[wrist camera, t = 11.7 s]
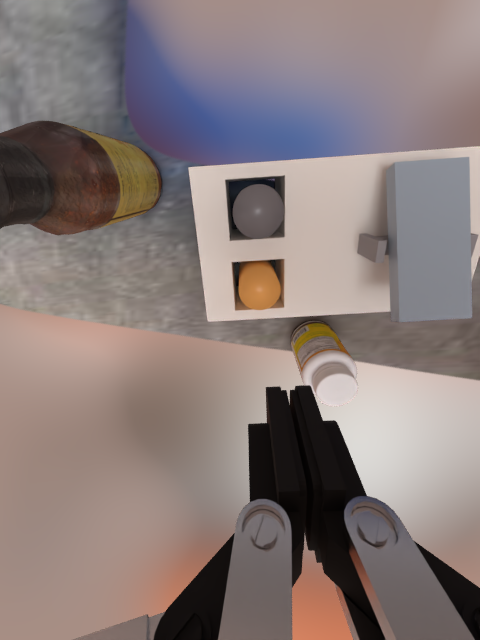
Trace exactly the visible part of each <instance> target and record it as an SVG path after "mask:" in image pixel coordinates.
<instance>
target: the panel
mask: <svg viewBox="0 0 480 640" xmlns="http://www.w3.org/2000/svg"><path fill="white" fill-rule="evenodd" d="M459 157H469V164H470V221H471V278H473V275H474V272H475V269H476V266H477V262H478V259H479V256H480V146H475V147H462V148H448V149H434V150H421V151H407V152H393V153H380V154H366V155H351V156H337V157H324V158H310V159H296V160H283V161H268V162H255V163H241V164H227V165H213V166H200V167H188V168H189V176H190V184H191V192H192V200H193V208H194V216H195V224H196V232H197V240H198V248H199V256H200V264H201V271H202V279H203V287H204V295H205V303H206V311H207V319H208V322H212V321H230V320H248V319H266V318H284V317H301V316H319V315H337V314H355V313H373V312H390V283H389V255H385V250H386V244H387V242H388V219H387V187H386V170H387V169H388V168H389V167H390V166H391V165H392V164H393V163H394V162H403V161H417V160H431V159H445V158H459ZM261 179H275V191H276V192H277V193H278V194H279V196H280V197H281V199H282V202H283V206H284V215H283V220H282V222H281V225H280V226H279V228H278V229H277V230H276V231H275V232H274V233H273V234H272V235H270V236H268V237H266V238H262V239H253V238H250V237H247V236H245V235H244V234H243V233H241V232H240V231H239V229H236V230H232V221H231V207H230V193H229V182H232V181H246V180H261ZM274 259H275V268H276V276H277V278H278V280H279V283H280V286H281V293H280V296H279V299H278V300H277V302H276V303H275V304H274V305H273V306H271V307H270V308H268V309H264V310H254V309H251V308H249V307H247V306H246V305H245V304H244V303H243V302H242V300H241V299H240V296H239V287H236V276H235V262H241V261H257V260H274Z"/></svg>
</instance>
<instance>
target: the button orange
mask: <svg viewBox="0 0 480 640" xmlns="http://www.w3.org/2000/svg"><path fill="white" fill-rule="evenodd" d="M280 293H281V286H280V283H279V280H278V278H277V276H276V273H275V271H274V268H273V266H272V263H271V261H270V260H257V261H241V262H240V265H239V296H240V299H241V300H242V302H243V303H244V304H245V305H246V306H247V307H249V308H251V309H254V310H264V309H268V308H270V307H271V306H273V305H274V304H275V303H276V302H277V300H278V299H279V296H280Z"/></svg>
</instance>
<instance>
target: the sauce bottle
mask: <svg viewBox="0 0 480 640" xmlns="http://www.w3.org/2000/svg"><path fill="white" fill-rule="evenodd" d="M161 184H162V183H161V177H160V174H159V172H158V169H157V167H156V165H155V163H154V162H153V160H152V159H151V157H149V156H148V155H147V154H146V153H145V152H143V151H141V150H140V149H139V148H137V147H136V146H134V145H131V144H129V143H126V142H123V141H119V140H116V139H113V138H109V137H106V136H103V135H100V134H97V133H92V132H91V131H86V130H83V129H79V128H77V127H73V126H69V125H65V124H62V123H58V122H52V121H35V122H31V123H28V124H25V125H22V126H19V127H16V128H14V129H11V130H8V131H5V132H2V133H0V229H1V228H2V227H4V226H10V225H14V224H31V225H33V226H35V227H37V228H38V229H40V230H43V231H45V232H49V233H51V234H55V235H61V234H68V235H69V234H75V233H79V232H82V231H86V230H93V229H98V228H101V227H104V226H107V225H110V224H113V223H116V222H120V221H123V220H126V219H129V218H132V217H135V216H138V215H141V214H144V213H146V212H147V211H148V210H149V209H151V208H153V207H154V206H155V204H156V203H157V201H158V199H159V197H160V192H161Z"/></svg>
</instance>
